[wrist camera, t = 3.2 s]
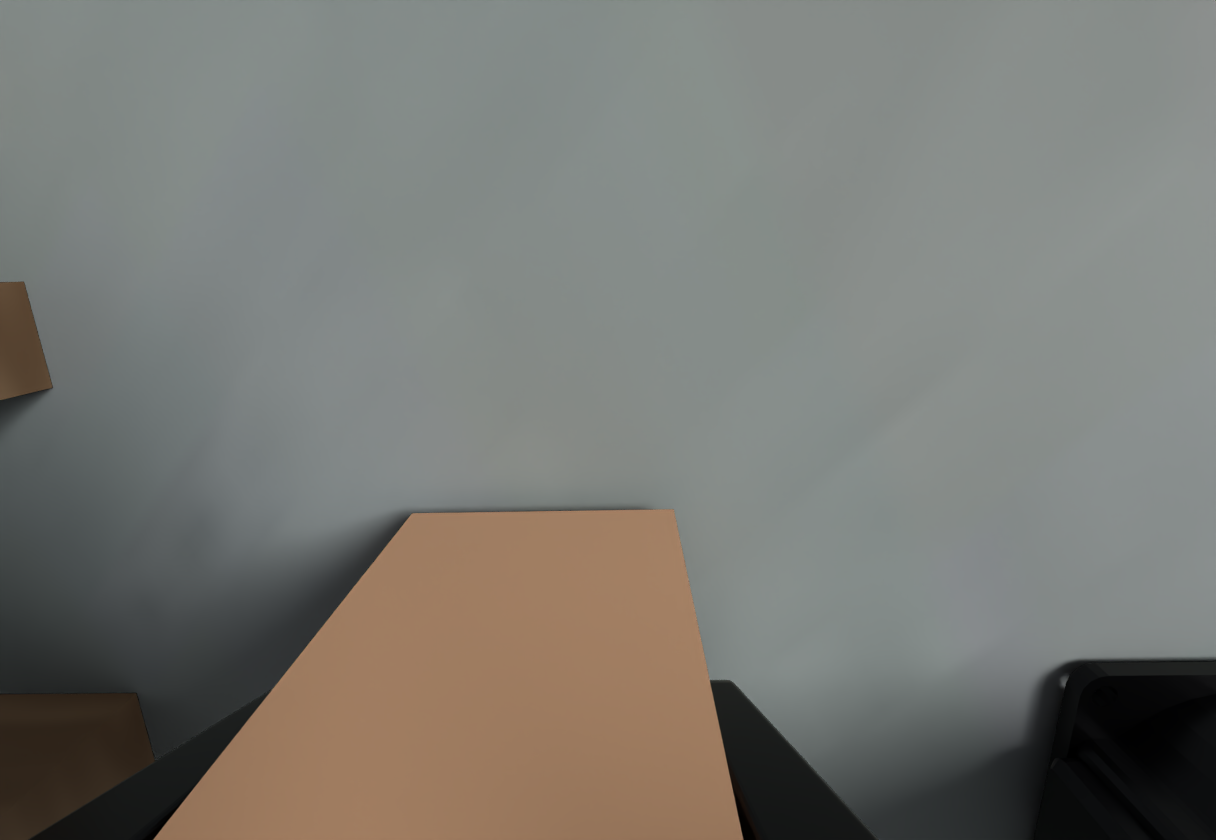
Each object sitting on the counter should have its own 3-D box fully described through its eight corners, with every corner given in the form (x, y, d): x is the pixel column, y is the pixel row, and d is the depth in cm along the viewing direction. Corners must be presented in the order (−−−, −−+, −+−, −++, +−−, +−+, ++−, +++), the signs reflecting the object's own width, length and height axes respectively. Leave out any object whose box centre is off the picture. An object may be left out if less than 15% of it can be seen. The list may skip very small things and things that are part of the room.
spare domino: (411, 513, 12) (-571, 1754, 2) (673, 509, 12) (945, 1809, 2) (423, 605, 12) (-315, 1937, 3) (673, 602, 12) (884, 1986, 2)
